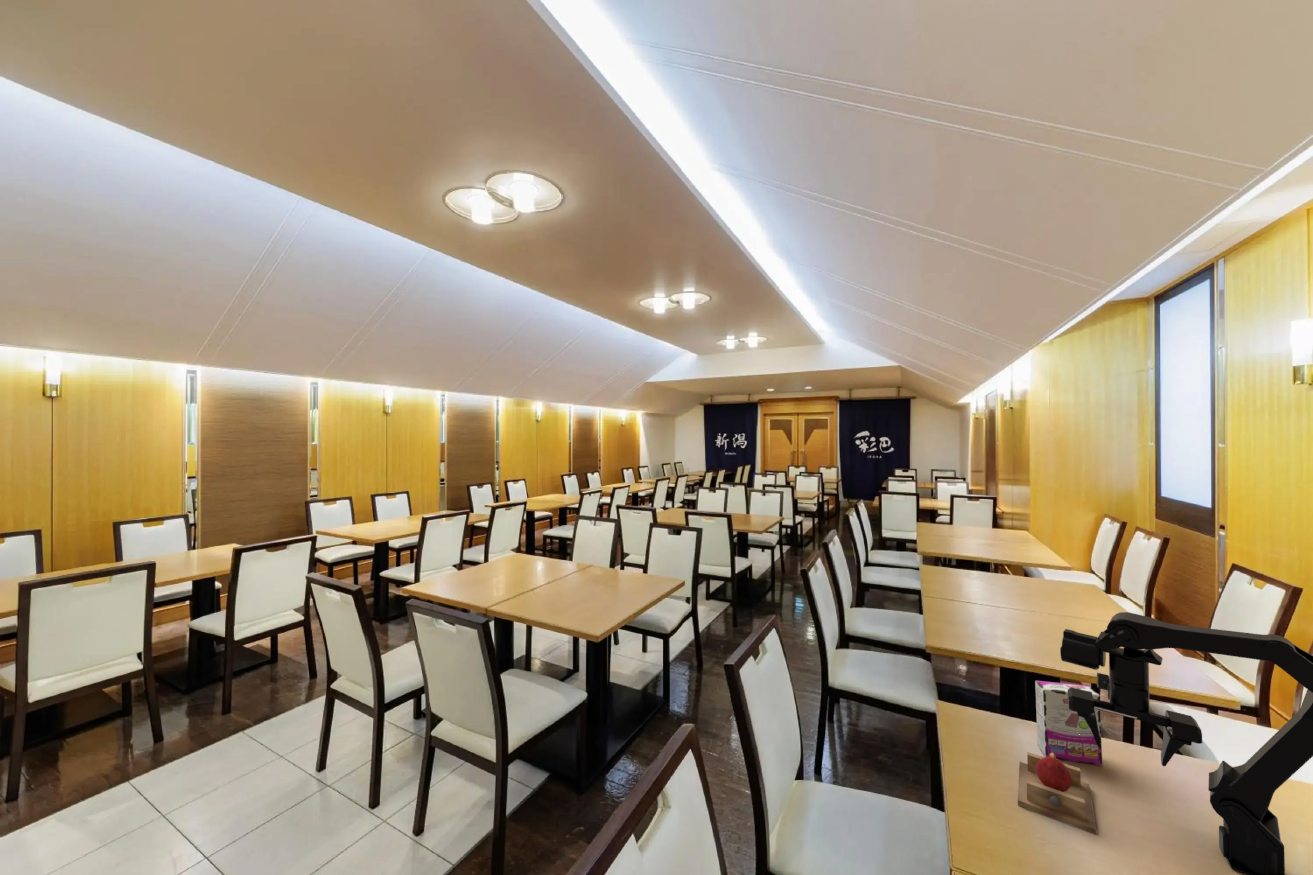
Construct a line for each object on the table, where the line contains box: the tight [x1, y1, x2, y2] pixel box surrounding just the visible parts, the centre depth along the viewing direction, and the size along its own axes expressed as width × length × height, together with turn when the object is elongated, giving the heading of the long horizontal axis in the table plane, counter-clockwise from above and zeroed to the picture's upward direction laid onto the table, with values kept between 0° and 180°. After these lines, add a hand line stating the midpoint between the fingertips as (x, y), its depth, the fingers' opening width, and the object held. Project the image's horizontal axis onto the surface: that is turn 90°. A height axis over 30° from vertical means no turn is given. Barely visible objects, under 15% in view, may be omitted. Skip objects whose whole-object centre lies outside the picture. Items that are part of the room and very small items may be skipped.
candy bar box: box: [1034, 680, 1103, 766], centre depth 114 cm, size 11×5×16 cm, turn 73°
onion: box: [1036, 753, 1072, 792], centre depth 101 cm, size 6×6×8 cm
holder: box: [1017, 751, 1097, 835], centre depth 101 cm, size 12×15×4 cm
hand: (1130, 755), depth 96 cm, fingers open, 9 cm apart
